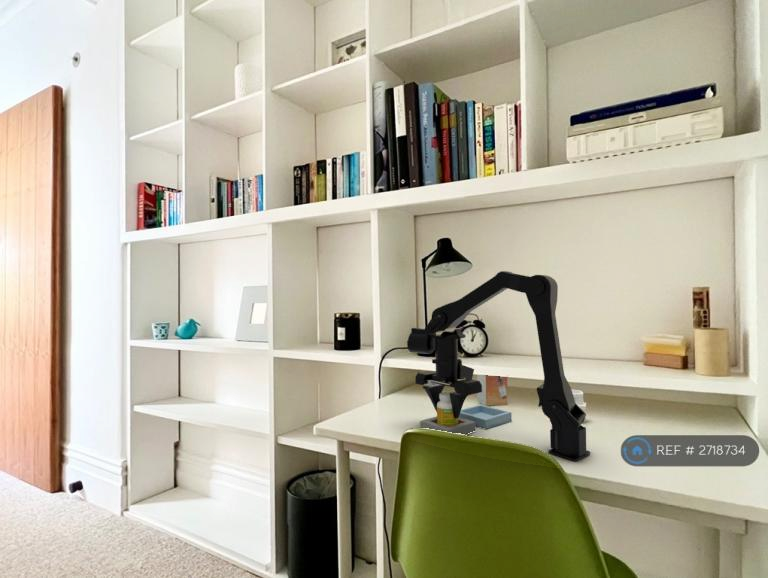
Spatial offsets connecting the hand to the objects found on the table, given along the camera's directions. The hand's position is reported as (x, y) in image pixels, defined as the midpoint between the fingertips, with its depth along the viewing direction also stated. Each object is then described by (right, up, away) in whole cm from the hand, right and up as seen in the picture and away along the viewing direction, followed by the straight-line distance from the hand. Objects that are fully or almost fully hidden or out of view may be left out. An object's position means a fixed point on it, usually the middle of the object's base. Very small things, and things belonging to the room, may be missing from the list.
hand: (447, 415), depth 111 cm
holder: (0, -4, 0) cm, 4 cm away
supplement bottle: (0, -4, 0) cm, 4 cm away
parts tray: (+11, -4, +9) cm, 15 cm away
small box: (+18, -4, +27) cm, 33 cm away
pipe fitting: (+36, -4, +8) cm, 37 cm away
